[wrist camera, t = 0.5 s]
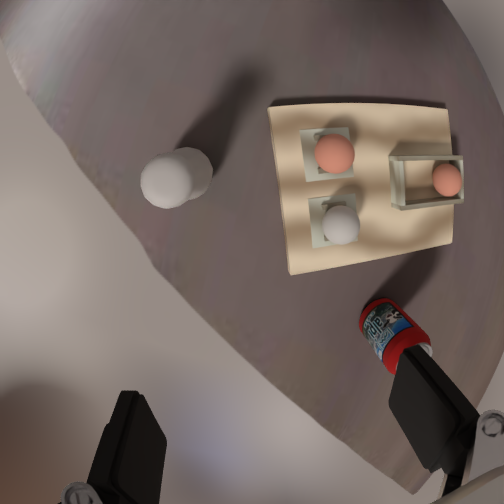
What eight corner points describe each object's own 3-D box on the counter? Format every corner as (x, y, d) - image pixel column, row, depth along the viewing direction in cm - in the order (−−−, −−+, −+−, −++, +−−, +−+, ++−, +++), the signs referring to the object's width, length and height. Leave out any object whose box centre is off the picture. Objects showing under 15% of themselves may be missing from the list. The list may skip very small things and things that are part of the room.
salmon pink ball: (307, 136, 30) (319, 133, 26) (343, 134, 30) (358, 131, 26) (312, 174, 32) (324, 176, 28) (347, 170, 32) (363, 173, 28)
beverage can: (370, 290, 39) (413, 335, 28) (401, 301, 40) (445, 342, 29) (349, 329, 41) (382, 381, 29) (381, 337, 42) (417, 384, 31)
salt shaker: (195, 138, 31) (176, 125, 19) (223, 178, 33) (221, 190, 20) (155, 167, 31) (113, 175, 19) (182, 206, 33) (157, 235, 21)
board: (267, 109, 30) (272, 103, 27) (440, 110, 31) (458, 108, 27) (288, 270, 37) (295, 283, 33) (446, 240, 38) (462, 247, 34)
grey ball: (315, 205, 33) (327, 212, 29) (349, 200, 33) (365, 206, 29) (318, 241, 34) (330, 252, 30) (351, 235, 34) (367, 246, 30)
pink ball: (425, 162, 32) (445, 165, 28) (447, 162, 32) (467, 164, 28) (426, 194, 34) (446, 200, 29) (448, 192, 34) (468, 198, 30)
